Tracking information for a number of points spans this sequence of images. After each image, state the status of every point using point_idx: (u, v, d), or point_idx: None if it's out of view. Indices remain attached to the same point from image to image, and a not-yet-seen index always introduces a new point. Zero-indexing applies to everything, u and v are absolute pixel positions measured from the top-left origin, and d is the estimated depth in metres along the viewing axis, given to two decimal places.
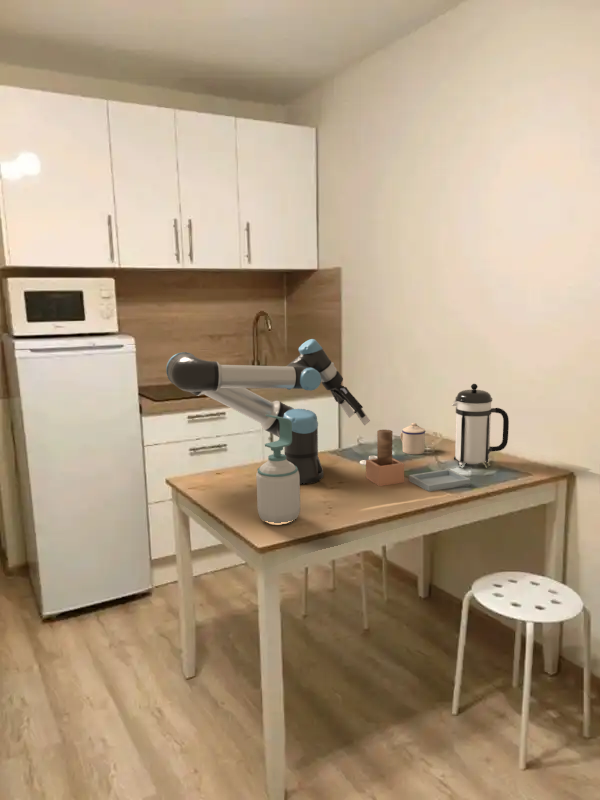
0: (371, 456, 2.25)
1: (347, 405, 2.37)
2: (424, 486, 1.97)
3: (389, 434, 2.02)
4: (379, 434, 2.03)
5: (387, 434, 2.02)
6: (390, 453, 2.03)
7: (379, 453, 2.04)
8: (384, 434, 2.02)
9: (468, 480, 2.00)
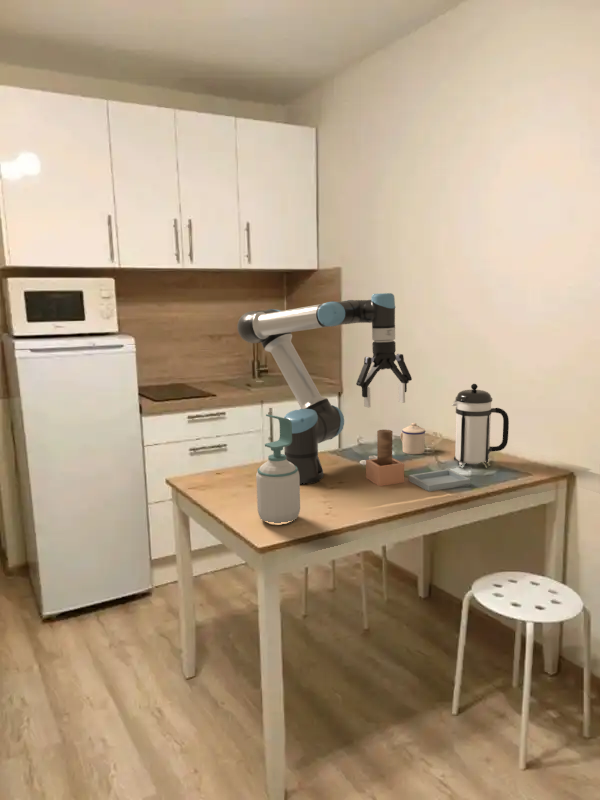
0: (371, 456, 2.25)
1: (401, 388, 2.05)
2: (424, 486, 1.97)
3: (389, 434, 2.02)
4: (379, 434, 2.03)
5: (387, 434, 2.02)
6: (390, 453, 2.03)
7: (379, 453, 2.04)
8: (384, 434, 2.02)
9: (468, 480, 2.00)
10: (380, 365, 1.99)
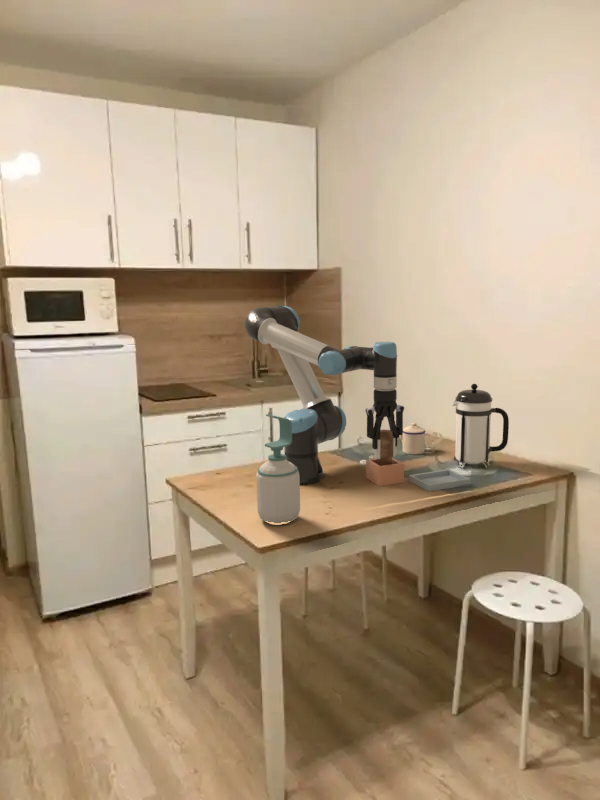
0: (371, 456, 2.26)
1: (392, 443, 2.05)
2: (424, 486, 1.97)
3: (389, 434, 2.02)
4: (379, 434, 2.03)
5: (387, 434, 2.02)
6: (390, 453, 2.03)
7: None
8: (384, 434, 2.02)
9: (468, 480, 2.00)
10: (382, 414, 2.00)
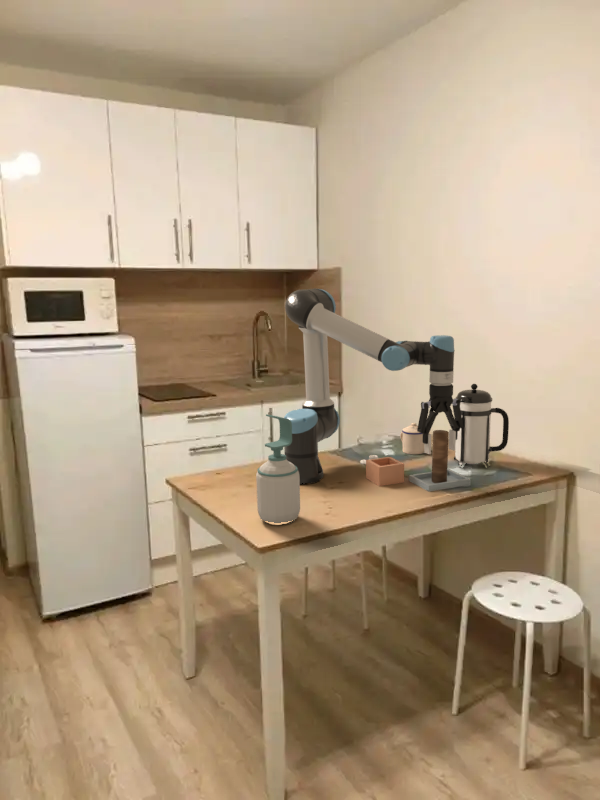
0: (371, 455, 2.26)
1: (452, 436, 2.01)
2: (424, 486, 1.97)
3: (446, 435, 1.97)
4: (435, 435, 1.98)
5: (444, 435, 1.97)
6: (446, 454, 1.99)
7: (435, 454, 1.99)
8: (441, 435, 1.97)
9: (468, 480, 2.00)
10: (438, 409, 1.96)
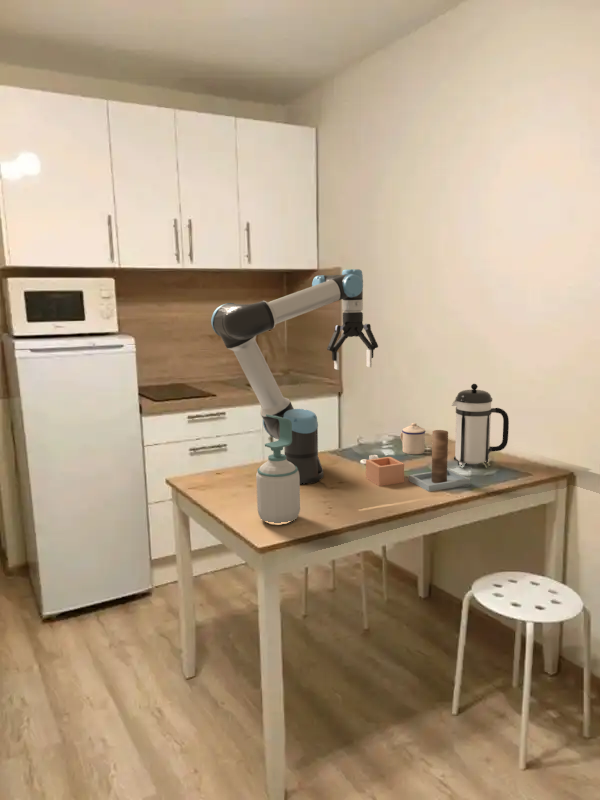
0: (372, 455, 2.27)
1: (369, 354, 2.32)
2: (424, 486, 1.97)
3: (445, 435, 1.98)
4: (435, 435, 1.99)
5: (443, 435, 1.98)
6: (446, 454, 1.99)
7: (434, 454, 2.00)
8: (440, 435, 1.98)
9: (468, 480, 2.00)
10: (348, 333, 2.26)
